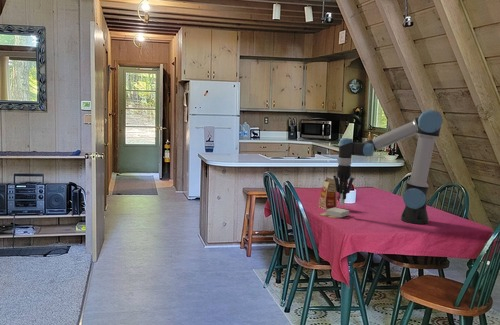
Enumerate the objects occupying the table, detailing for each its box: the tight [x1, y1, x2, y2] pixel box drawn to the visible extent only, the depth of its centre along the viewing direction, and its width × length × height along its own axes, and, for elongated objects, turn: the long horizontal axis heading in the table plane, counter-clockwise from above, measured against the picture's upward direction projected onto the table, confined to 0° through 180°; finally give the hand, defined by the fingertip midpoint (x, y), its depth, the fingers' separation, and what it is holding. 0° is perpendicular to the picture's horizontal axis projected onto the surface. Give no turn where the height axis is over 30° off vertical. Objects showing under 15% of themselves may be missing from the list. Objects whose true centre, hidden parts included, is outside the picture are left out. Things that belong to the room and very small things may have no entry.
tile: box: [325, 207, 350, 219], centre depth 285 cm, size 3×10×10 cm
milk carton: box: [318, 176, 338, 211], centre depth 304 cm, size 9×9×20 cm
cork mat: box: [318, 211, 339, 220], centre depth 287 cm, size 12×14×1 cm
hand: (342, 204), depth 282 cm, fingers closed
